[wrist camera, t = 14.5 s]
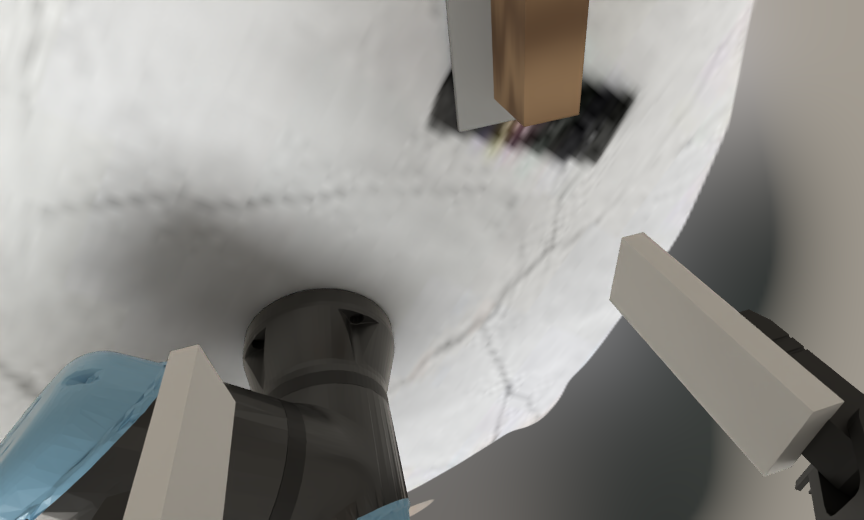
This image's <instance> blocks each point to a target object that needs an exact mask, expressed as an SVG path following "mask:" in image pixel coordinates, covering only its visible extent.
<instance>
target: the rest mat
mask: <svg viewBox="0 0 864 520" xmlns="http://www.w3.org/2000/svg"><path fill="white" fill-rule="evenodd" d="M446 9H447V20H448V31H449V41H450V52H451V63H452V74H453V85H454V96H455V106H456V117H457V128H458V130H459V132H462V131H467V130H471V129H476V128H480V127H485V126H489V125H493V124H498V123H502V122H507V121H511V120H516V119H515V118H514V117H513V116H512V115H511V114H510V113H509V112H508V111H507V110H505V109H504V108H503V107H502V106H501V105H500V104H499V103H498V102H497V101H496V100H495V99H494V83H493V54H492V26H491V0H446Z"/></svg>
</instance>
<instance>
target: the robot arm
mask: <svg viewBox="0 0 864 520" xmlns="http://www.w3.org/2000/svg"><path fill="white" fill-rule="evenodd" d="M609 300H610V301H611V302H612V304H613V305H614V306H615V307H616V308H617V309H618V310H619V312H620V313H621V314H622V315H623V316H624V317H625V318H626V320H627V321H628V322H629V323H630V324H631V325H632V326H633V327H634V329H635V330H636V331H637V332H638V333H639V334H640V335H641V337H642V338H643V339H644V340H645V341H646V342H647V343H648V345H649V346H650V347H651V348H652V349H653V350H654V351H655V353H656V354H657V355H658V356H659V357H660V358H661V359H662V361H663V362H664V363H665V364H666V365H667V366H668V367H669V368H670V370H671V371H672V372H673V373H674V374H675V375H676V377H677V378H678V379H679V380H680V381H681V382H682V383H683V385H684V386H685V387H686V388H687V389H688V390H689V391H690V392H691V394H692V395H693V396H694V397H695V398H696V399H697V401H698V402H699V403H700V404H701V405H702V406H703V407H704V408H705V410H706V411H707V412H708V413H709V414H710V415H711V416H712V418H713V419H714V420H715V421H716V422H717V423H718V424H719V425H720V427H721V428H722V429H723V430H724V431H725V432H726V434H727V435H728V436H729V437H730V438H731V439H732V440H733V441H734V443H735V444H736V445H737V446H738V447H739V448H740V450H741V451H742V452H743V453H744V454H745V455H746V456H747V458H748V459H749V460H750V461H751V462H752V463H753V464H754V465H755V466H756V468H757V469H758V470H759V471H760V472H761V473H762V475H763V476H768V475H770V474H773V473H776V472H779V471H781V470H784V469H787V468H790V467H792V465H793V464H794V463H795V462H796V460H797V459H798V458H799V457H800V455H801V454H802V455H803V456H804V457H805V458H806V459H807V460H808V461H809V462H810V463H811V464H810V465H809V467H808V468H807V469H806V470H805V471H804V472H803V474H802V475H801V476H800V477H799V478H798V480H797V481H796V486H795V489H796V490H799V491H801V490H802V489H803V487H804V486H805V485H806V484H807V483H808V482H810V488H811V489H810V491H809V494H812V500H813V505H814V512H815V517H816V520H864V394H863V393H861V392H860V391H859V390H857V389H856V388H855V387H854V386H852V385H851V384H850V383H849V382H847V381H846V380H845V379H844V378H842V377H841V376H840V375H839V374H837V373H836V372H835V371H834V370H832V369H831V368H830V367H829V366H828V365H826V364H825V363H824V362H822V361H821V360H820V359H819V358H817V357H816V356H815V355H814V354H813V353H811V352H810V351H809V350H805V349H804V346H803V345H801V344H800V343H799V342H797V341H796V340H795V339H794V338H790V337H789V334H787V333H786V332H785V331H784V330H783V329H781V328H780V327H779V326H777V325H776V324H775V323H774V322H773V321H771V320H769V319H767V318H765V317H763V316H761V315H759V314H757V313H755V312H753V311H751V310H746V311H742V312H737V311H736V310H735V309H734V308H733V307H732V306H730V305H729V304H728V303H727V302H726V301H724V300H723V299H722V298H721V297H720V296H718V295H717V294H716V293H715V292H714V291H712V290H711V289H710V288H709V287H708V286H707V285H705V284H704V283H703V282H702V281H701V280H699V279H698V278H697V277H696V276H695V275H693V274H692V273H691V272H690V271H689V270H688V269H686V268H685V267H684V266H683V265H682V264H680V263H679V262H678V261H677V260H675V259H674V258H673V257H672V256H671V255H670V254H668V253H667V252H666V251H665V250H664V249H663V248H661V247H660V246H659V245H658V244H657V243H655V242H654V241H653V240H652V239H651V238H649V237H648V236H647V235H646V234H645V233H644V232H642V233H638V234H634V235H630V236H626V237H623V238H622V240H621V245H620V250H619V255H618V260H617V265H616V269H615V274H614V279H613V284H612V289H611V294H610V299H609ZM393 357H394V338H393V333H392V329H391V324H390V321H389V319H388V317H387V316H386V314H385V313H384V311H383V310H382V309H381V308H380V307H379V306H378V305H377V304H375V303H374V302H372V301H371V300H369V299H367V298H366V297H363V296H361V295H359V294H356V293H353V292H349V291H344V290H337V289H314V290H307V291H302V292H298V293H294V294H291V295H288V296H286V297H283V298H281V299H279V300H277V301H275V302H273V303H272V304H270V305H269V306H267V307H266V308H265V309H263V310H262V311H261V312H260V313H259V314H258V315H257V316H256V317H255V318H254V319H253V321H252V322H251V324H250V326H249V327H248V330H247V332H246V336H245V341H244V349H243V366H244V370H245V373H246V376H247V379H248V382H249V385H250V388H251V390H248V389H244V388H241V387H238V386H234V385H231V384H228V383H225V382H223V381H222V380H221V378H220V377H219V375H218V374H217V372H216V370H215V369H214V367H213V366H212V364H211V363H210V361H209V359H208V358H207V356H206V355H205V353H204V352H203V350H202V349H201V347H200V345H199V344H198V345H194V346H190V347H186V348H182V349H178V350H174V351H170V353H169V357H168V361H167V362H160V363H157V362H153V361H149V360H145V359H141V358H137V357H133V356H129V355H125V354H121V353H117V352H111V351H97V352H92V353H88V354H85V355H83V356H81V357H79V358H76V359H75V360H73V361H72V362H70V363H69V364H68V365H66V366H65V367H64V368H63V369H62V370H61V371H60V372H59V373H58V374H57V376H56V377H55V378H54V379H53V380H52V381H51V382H50V383H49V384H48V385H47V387H46V388H45V389H44V390H43V391H42V392H41V394H40V395H39V396H38V397H37V398H36V400H35V401H34V402H33V403H32V404H31V406H30V407H29V408H28V409H27V411H26V412H25V413H24V414H23V415H22V417H21V418H20V419H19V420H18V422H17V423H16V424H15V425H14V427H13V428H12V429H11V430H10V432H9V433H8V434H7V436H6V437H5V438H4V439H3V441H2V442H1V443H0V520H410V517H409V508H410V502H409V499H408V495H407V490H406V485H405V481H404V476H403V471H402V466H401V461H400V456H399V451H398V447H397V442H396V437H395V432H394V427H393V422H392V417H391V412H390V408H389V403H388V397H387V390H388V384H389V379H390V373H391V368H392V363H393Z"/></svg>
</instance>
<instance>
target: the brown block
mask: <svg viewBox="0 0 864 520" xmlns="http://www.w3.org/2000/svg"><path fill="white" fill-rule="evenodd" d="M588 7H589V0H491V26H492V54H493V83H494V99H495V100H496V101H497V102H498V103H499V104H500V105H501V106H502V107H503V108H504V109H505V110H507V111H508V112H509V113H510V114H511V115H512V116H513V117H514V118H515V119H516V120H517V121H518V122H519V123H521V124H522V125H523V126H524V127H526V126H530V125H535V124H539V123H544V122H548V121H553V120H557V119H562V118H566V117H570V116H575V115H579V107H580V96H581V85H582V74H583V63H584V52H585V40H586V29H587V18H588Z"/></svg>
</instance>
